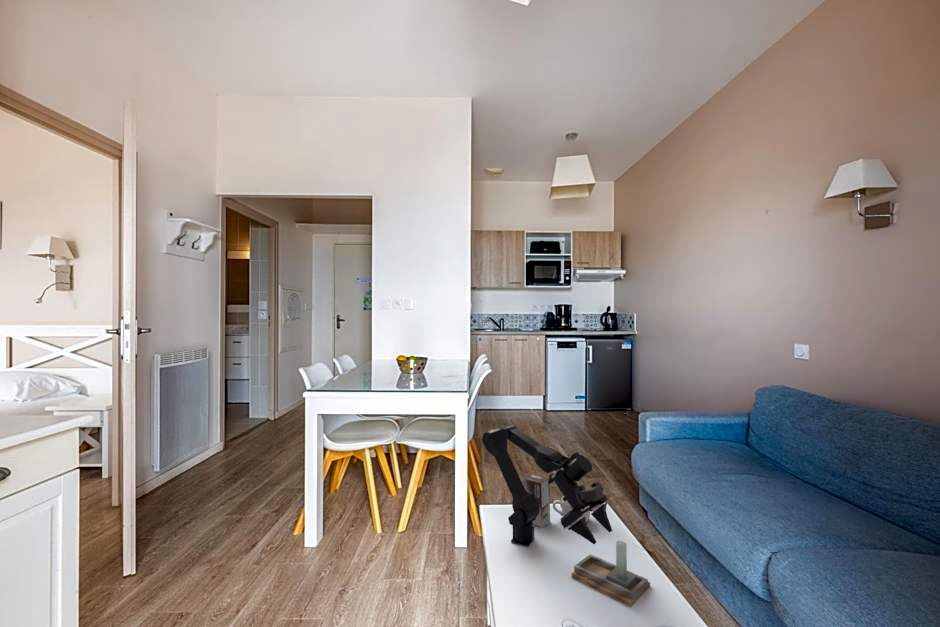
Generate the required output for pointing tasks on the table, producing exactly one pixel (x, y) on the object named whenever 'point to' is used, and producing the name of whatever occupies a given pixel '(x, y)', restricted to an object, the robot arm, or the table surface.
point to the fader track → (595, 576)
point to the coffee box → (539, 496)
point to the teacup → (567, 508)
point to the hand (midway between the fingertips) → (603, 537)
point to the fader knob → (622, 568)
